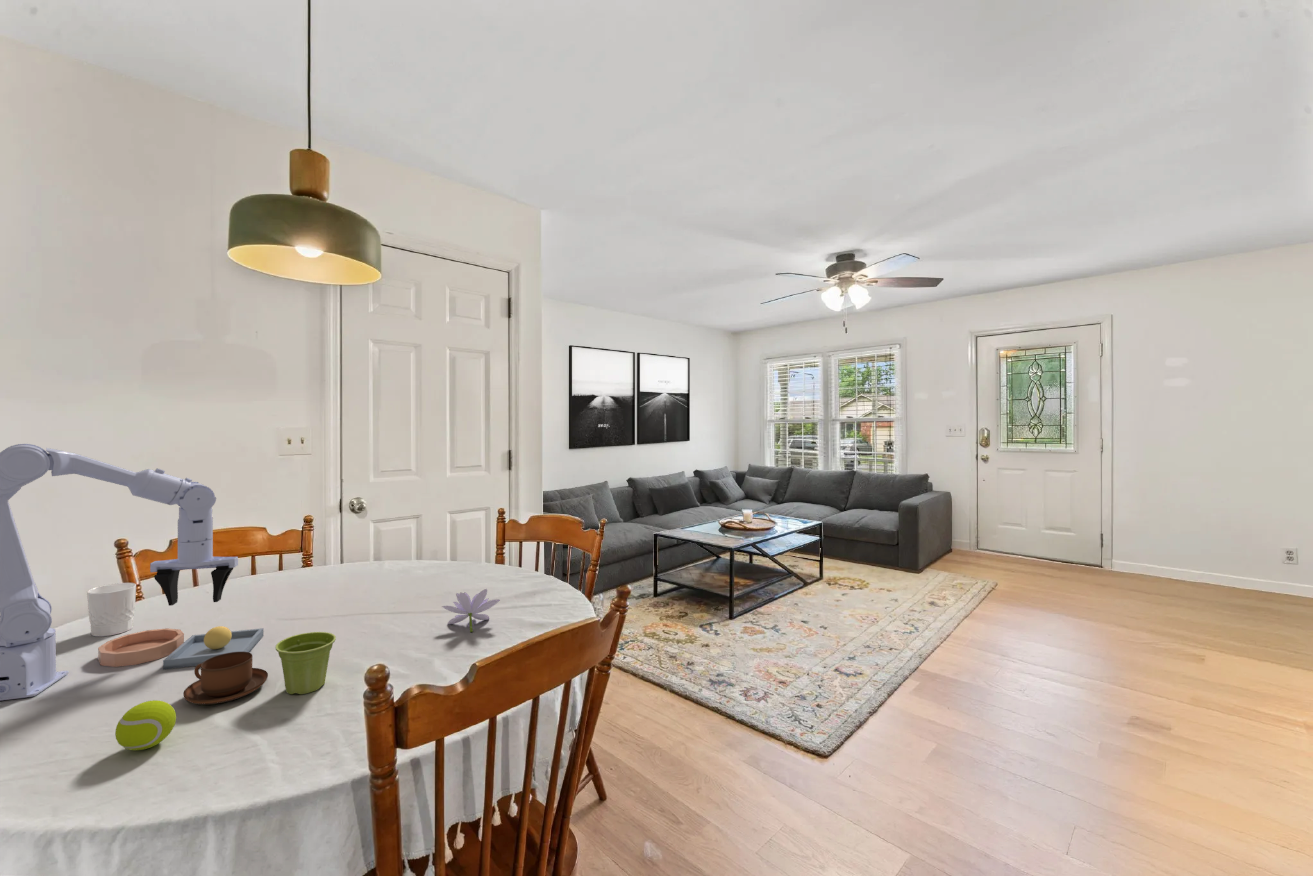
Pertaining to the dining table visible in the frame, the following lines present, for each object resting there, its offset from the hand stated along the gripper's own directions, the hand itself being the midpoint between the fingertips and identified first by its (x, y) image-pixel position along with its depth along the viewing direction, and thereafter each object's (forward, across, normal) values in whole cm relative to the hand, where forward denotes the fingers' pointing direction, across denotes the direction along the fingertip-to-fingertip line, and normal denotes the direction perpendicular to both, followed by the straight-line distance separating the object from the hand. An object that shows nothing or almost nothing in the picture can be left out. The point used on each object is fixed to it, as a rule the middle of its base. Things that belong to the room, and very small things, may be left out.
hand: (195, 602), depth 115 cm
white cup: (+10, +21, -16) cm, 28 cm away
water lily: (+10, -56, +4) cm, 57 cm away
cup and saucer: (+10, -14, +24) cm, 30 cm away
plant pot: (+10, -26, +26) cm, 39 cm away
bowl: (+10, +9, 0) cm, 13 cm away
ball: (+7, -5, +4) cm, 9 cm away
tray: (+10, -5, +4) cm, 12 cm away
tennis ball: (+10, -9, +40) cm, 42 cm away
